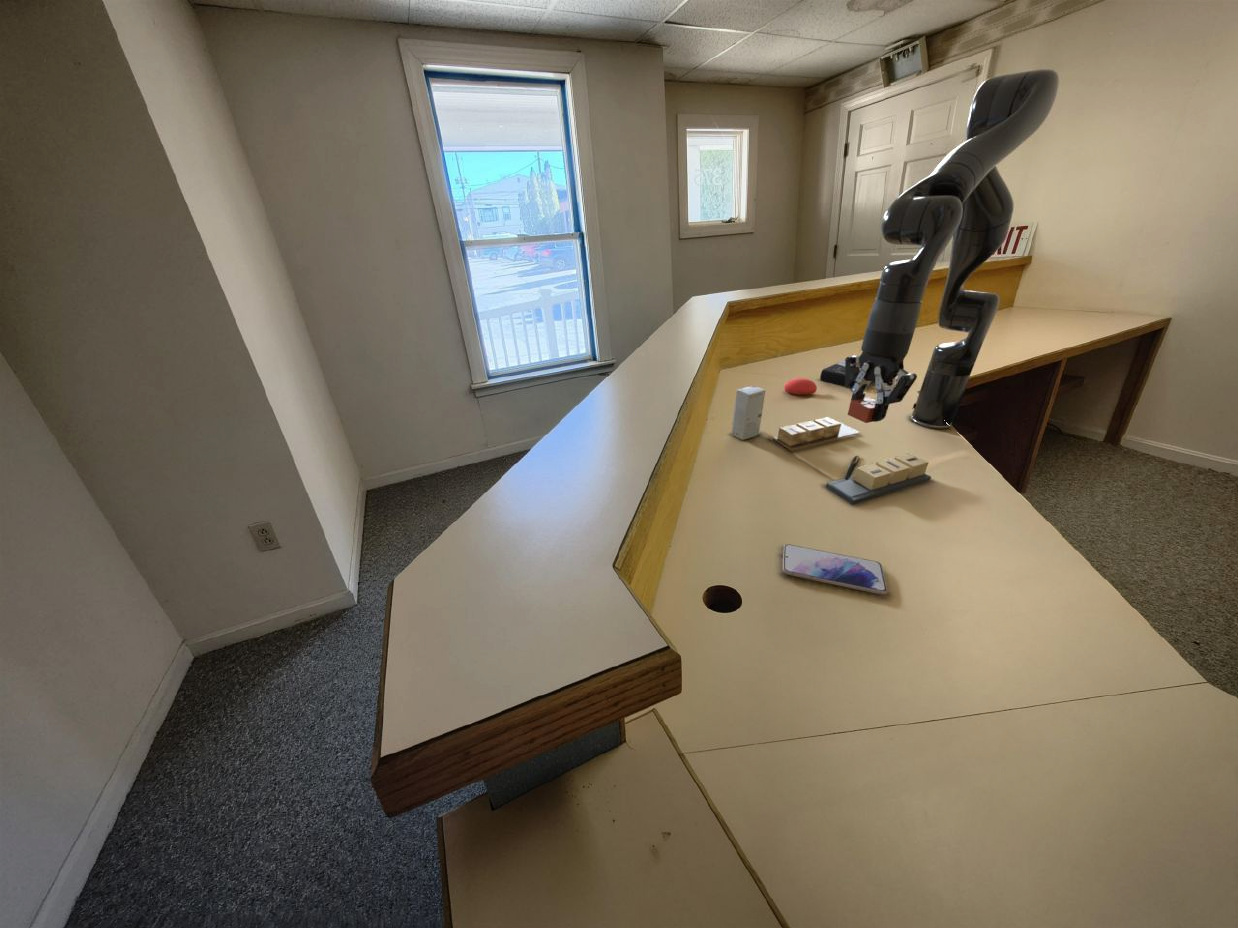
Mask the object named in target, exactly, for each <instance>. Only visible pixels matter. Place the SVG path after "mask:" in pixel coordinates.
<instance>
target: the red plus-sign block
mask: <svg viewBox="0 0 1238 928" xmlns="http://www.w3.org/2000/svg"><path fill="white" fill-rule="evenodd" d="M850 402H851V403H850ZM850 402H849V407H848V411H847V416H850V417H851V418H854V419H856V420H857V421H860V422H862V423H864V424H869V423H873V422H874V421H872V416H873V412H874V409H875V404H876V403H877V399H873V398H871V397H869V396H866V397H864V398H862V399H857V400H852V401H851V400H850ZM874 423H875V422H874Z"/></svg>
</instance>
